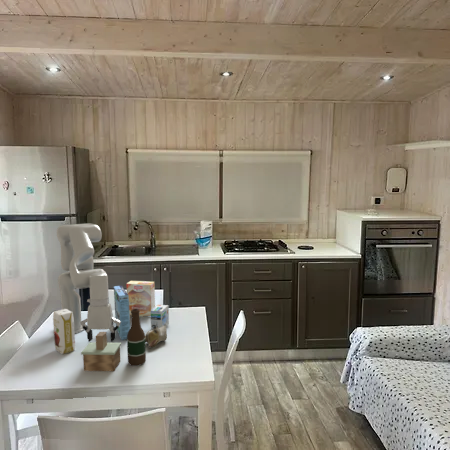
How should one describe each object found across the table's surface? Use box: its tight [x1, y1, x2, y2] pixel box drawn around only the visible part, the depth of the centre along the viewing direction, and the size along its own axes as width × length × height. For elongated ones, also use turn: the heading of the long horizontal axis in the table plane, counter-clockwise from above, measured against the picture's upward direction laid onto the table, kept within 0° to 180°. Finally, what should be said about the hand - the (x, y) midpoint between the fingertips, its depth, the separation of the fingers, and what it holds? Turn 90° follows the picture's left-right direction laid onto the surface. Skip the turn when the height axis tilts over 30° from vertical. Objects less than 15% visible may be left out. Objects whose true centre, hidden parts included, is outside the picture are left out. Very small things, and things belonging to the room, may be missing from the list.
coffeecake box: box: [125, 280, 156, 317], centre depth 239 cm, size 15×7×20 cm, turn 81°
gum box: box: [113, 285, 131, 341], centre depth 211 cm, size 20×5×23 cm, turn 23°
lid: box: [80, 331, 122, 356], centre depth 175 cm, size 14×10×8 cm
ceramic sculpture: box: [145, 325, 168, 348], centre depth 199 cm, size 11×9×15 cm
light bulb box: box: [150, 304, 170, 330], centre depth 220 cm, size 11×7×11 cm, turn 168°
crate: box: [82, 346, 121, 372], centre depth 176 cm, size 13×9×8 cm
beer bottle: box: [126, 309, 147, 367], centre depth 178 cm, size 8×8×24 cm
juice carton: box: [52, 309, 76, 355], centre depth 191 cm, size 8×9×19 cm
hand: (101, 340), depth 174 cm, fingers open, 9 cm apart
